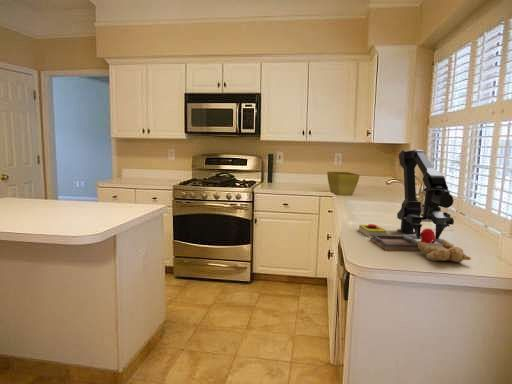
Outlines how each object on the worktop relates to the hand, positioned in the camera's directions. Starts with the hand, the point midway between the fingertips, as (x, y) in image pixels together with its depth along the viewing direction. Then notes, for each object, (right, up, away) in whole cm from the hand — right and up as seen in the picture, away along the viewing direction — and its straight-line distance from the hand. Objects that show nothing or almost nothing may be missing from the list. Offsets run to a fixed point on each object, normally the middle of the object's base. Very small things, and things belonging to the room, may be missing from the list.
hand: (427, 239), depth 161 cm
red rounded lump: (0, -2, 0) cm, 2 cm away
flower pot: (-6, +18, +137) cm, 138 cm away
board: (-17, -2, -6) cm, 18 cm away
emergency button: (-20, 0, +12) cm, 23 cm away
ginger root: (-5, -5, -23) cm, 24 cm away
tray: (0, -2, 0) cm, 2 cm away
